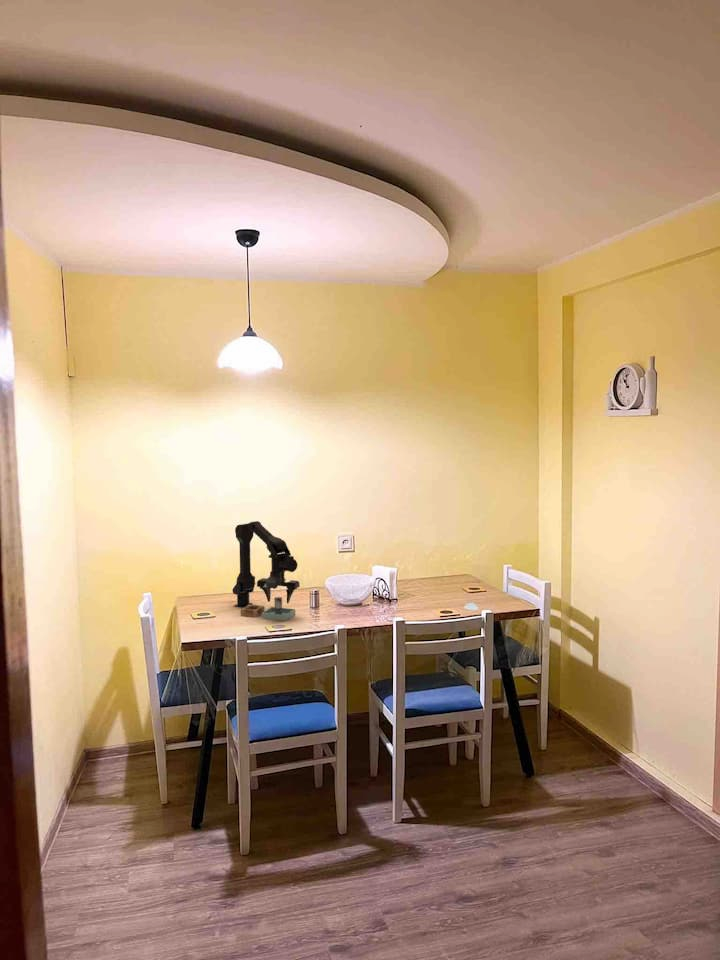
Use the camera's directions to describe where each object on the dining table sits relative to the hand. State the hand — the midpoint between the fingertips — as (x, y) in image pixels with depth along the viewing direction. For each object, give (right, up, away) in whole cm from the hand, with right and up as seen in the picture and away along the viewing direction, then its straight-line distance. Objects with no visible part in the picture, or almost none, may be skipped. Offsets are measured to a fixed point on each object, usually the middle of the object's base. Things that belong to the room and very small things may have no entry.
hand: (278, 602), depth 297 cm
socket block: (-12, -6, +5) cm, 15 cm away
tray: (0, -7, +1) cm, 6 cm away
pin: (0, -6, 0) cm, 6 cm away
